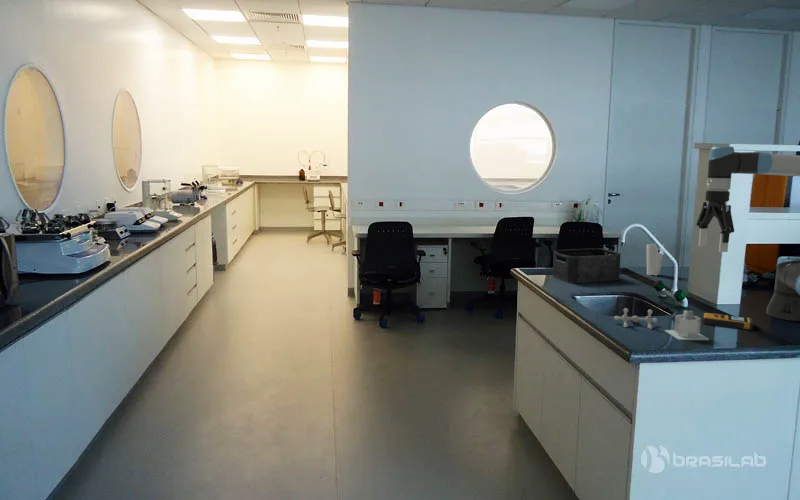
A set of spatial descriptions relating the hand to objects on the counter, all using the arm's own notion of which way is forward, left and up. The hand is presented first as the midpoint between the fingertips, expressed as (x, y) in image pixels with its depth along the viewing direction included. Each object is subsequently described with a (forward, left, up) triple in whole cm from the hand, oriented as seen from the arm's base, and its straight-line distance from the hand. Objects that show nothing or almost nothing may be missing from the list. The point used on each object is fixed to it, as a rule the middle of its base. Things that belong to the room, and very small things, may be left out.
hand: (712, 248), depth 212 cm
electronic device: (-5, +6, -27) cm, 28 cm away
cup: (-18, -83, -27) cm, 89 cm away
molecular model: (+29, +6, -27) cm, 40 cm away
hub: (+17, +19, -26) cm, 37 cm away
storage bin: (+20, -75, -27) cm, 82 cm away
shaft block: (+17, +19, -27) cm, 37 cm away
